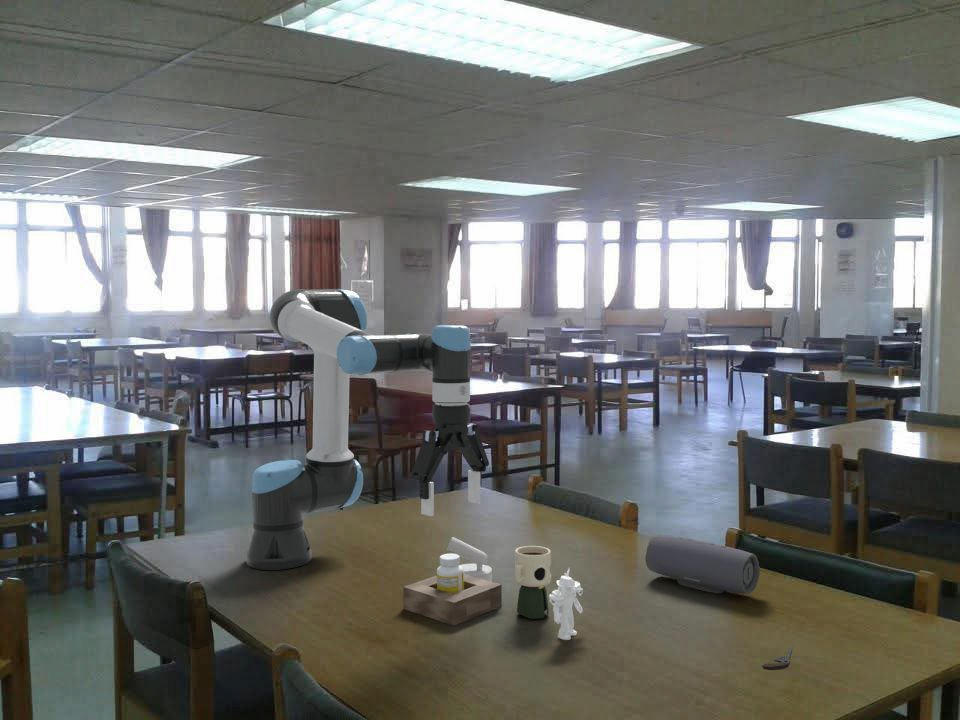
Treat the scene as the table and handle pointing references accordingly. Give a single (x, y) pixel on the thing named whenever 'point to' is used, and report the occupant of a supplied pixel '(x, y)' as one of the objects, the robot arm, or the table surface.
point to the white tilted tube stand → (471, 559)
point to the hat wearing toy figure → (566, 605)
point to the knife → (783, 663)
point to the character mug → (532, 580)
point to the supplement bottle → (450, 574)
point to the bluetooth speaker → (703, 564)
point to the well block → (452, 599)
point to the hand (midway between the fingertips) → (451, 508)
